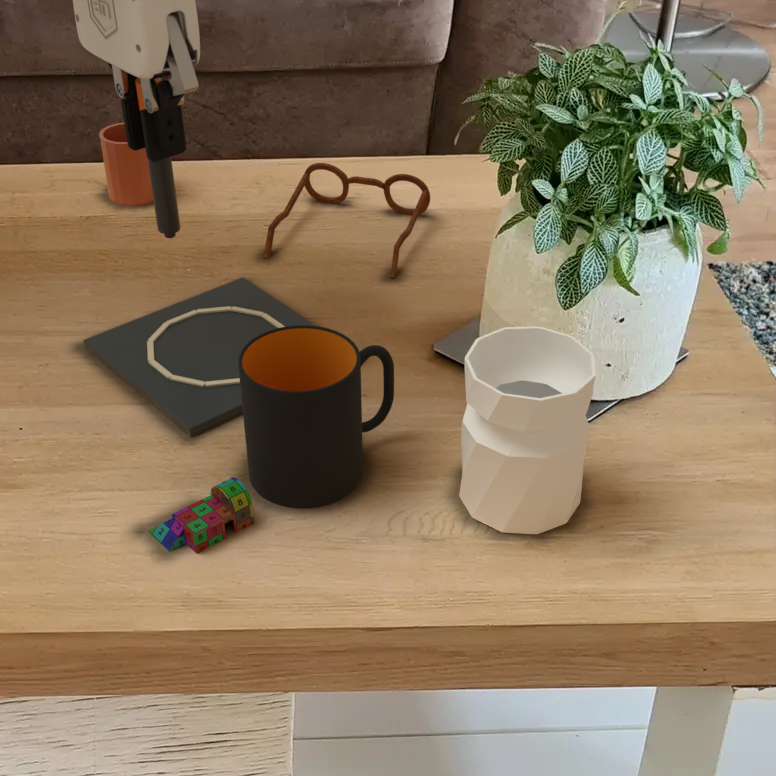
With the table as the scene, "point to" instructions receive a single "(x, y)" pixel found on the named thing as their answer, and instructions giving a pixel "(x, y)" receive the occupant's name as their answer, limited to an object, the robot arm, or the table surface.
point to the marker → (162, 185)
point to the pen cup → (125, 168)
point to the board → (193, 352)
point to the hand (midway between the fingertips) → (157, 148)
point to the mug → (307, 413)
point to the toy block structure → (207, 518)
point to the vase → (525, 428)
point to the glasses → (305, 181)
